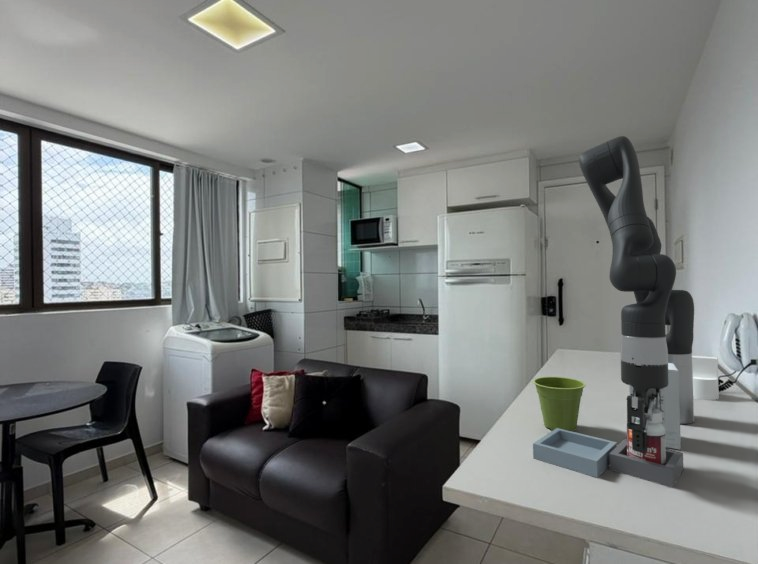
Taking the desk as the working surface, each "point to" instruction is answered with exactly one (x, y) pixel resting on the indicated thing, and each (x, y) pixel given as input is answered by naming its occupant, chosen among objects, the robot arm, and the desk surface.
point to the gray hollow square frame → (647, 466)
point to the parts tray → (574, 451)
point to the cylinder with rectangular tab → (705, 378)
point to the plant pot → (559, 401)
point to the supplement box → (670, 408)
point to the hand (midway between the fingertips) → (645, 444)
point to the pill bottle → (651, 441)
